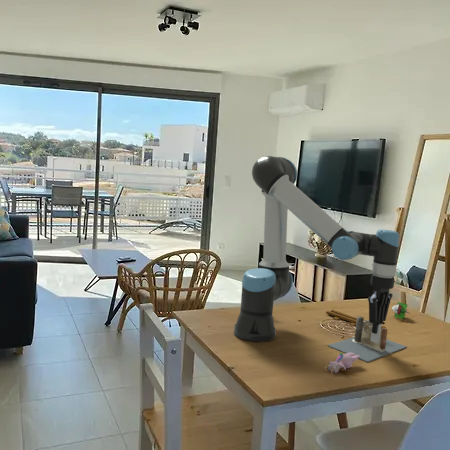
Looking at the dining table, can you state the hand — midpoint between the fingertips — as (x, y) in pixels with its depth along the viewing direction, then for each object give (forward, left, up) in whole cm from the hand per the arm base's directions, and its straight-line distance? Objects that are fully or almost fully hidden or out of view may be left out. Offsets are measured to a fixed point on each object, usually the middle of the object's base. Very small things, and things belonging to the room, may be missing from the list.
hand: (374, 341), depth 163 cm
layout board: (+1, +3, -3) cm, 5 cm away
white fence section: (+7, +8, -3) cm, 11 cm away
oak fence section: (+2, +2, -2) cm, 4 cm away
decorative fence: (+21, +22, -4) cm, 31 cm away
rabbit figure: (-22, -3, -4) cm, 23 cm away
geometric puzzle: (+46, +16, -4) cm, 49 cm away
